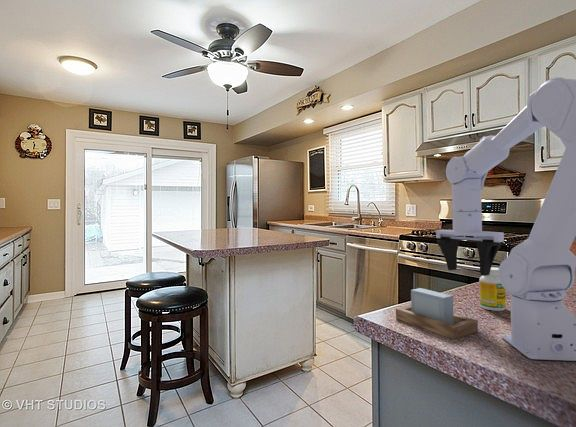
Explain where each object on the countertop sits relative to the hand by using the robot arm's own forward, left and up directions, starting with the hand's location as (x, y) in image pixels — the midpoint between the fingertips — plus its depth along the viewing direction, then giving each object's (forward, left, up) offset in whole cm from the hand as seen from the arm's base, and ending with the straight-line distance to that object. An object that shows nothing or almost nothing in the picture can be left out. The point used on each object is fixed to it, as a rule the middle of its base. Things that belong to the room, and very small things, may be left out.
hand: (467, 272), depth 73 cm
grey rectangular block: (-6, +9, -9) cm, 14 cm away
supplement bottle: (+7, -8, -10) cm, 15 cm away
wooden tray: (-6, +9, -10) cm, 15 cm away
